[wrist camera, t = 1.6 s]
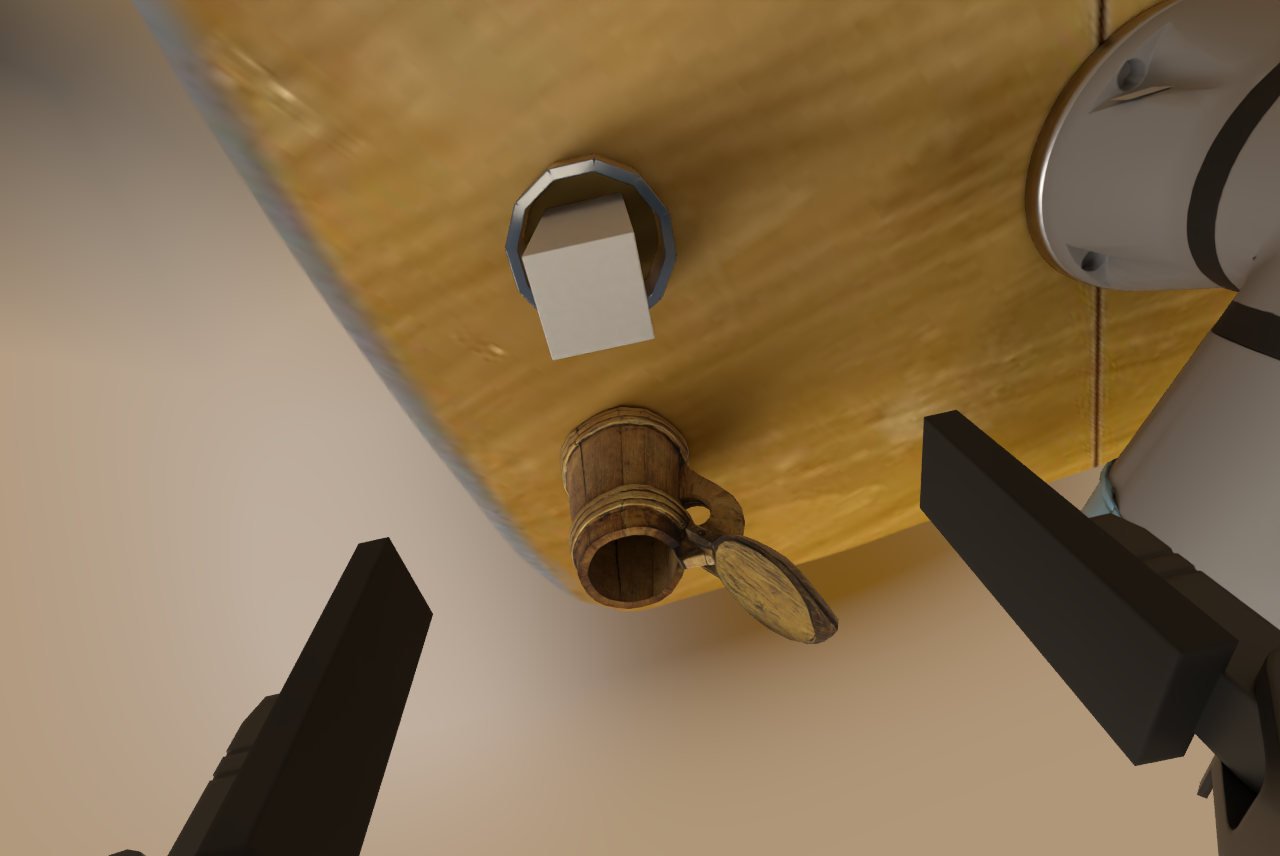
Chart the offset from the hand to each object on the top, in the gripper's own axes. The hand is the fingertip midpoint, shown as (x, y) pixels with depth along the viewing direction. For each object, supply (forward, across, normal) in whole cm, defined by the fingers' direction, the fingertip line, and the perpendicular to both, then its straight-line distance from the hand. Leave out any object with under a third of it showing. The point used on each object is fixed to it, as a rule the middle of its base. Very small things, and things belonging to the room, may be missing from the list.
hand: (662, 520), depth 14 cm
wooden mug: (+23, 0, +13) cm, 27 cm away
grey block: (+23, +1, -2) cm, 23 cm away
